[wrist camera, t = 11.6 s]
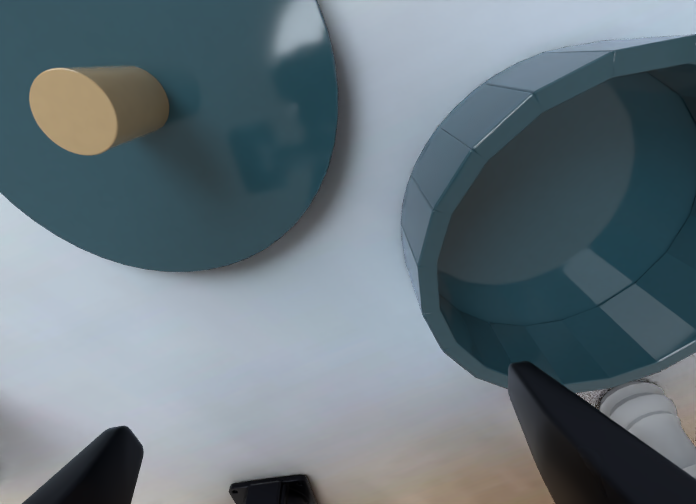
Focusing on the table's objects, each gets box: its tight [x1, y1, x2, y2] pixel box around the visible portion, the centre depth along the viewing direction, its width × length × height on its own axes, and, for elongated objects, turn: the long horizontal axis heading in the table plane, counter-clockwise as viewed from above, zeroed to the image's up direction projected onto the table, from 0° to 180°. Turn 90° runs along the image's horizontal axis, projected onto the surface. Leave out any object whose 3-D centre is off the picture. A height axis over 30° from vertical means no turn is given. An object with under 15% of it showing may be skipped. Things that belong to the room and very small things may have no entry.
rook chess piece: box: [599, 381, 696, 479], centre depth 22 cm, size 4×4×8 cm
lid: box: [0, 0, 338, 272], centre depth 14 cm, size 17×17×5 cm
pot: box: [401, 34, 696, 393], centre depth 17 cm, size 16×16×5 cm
